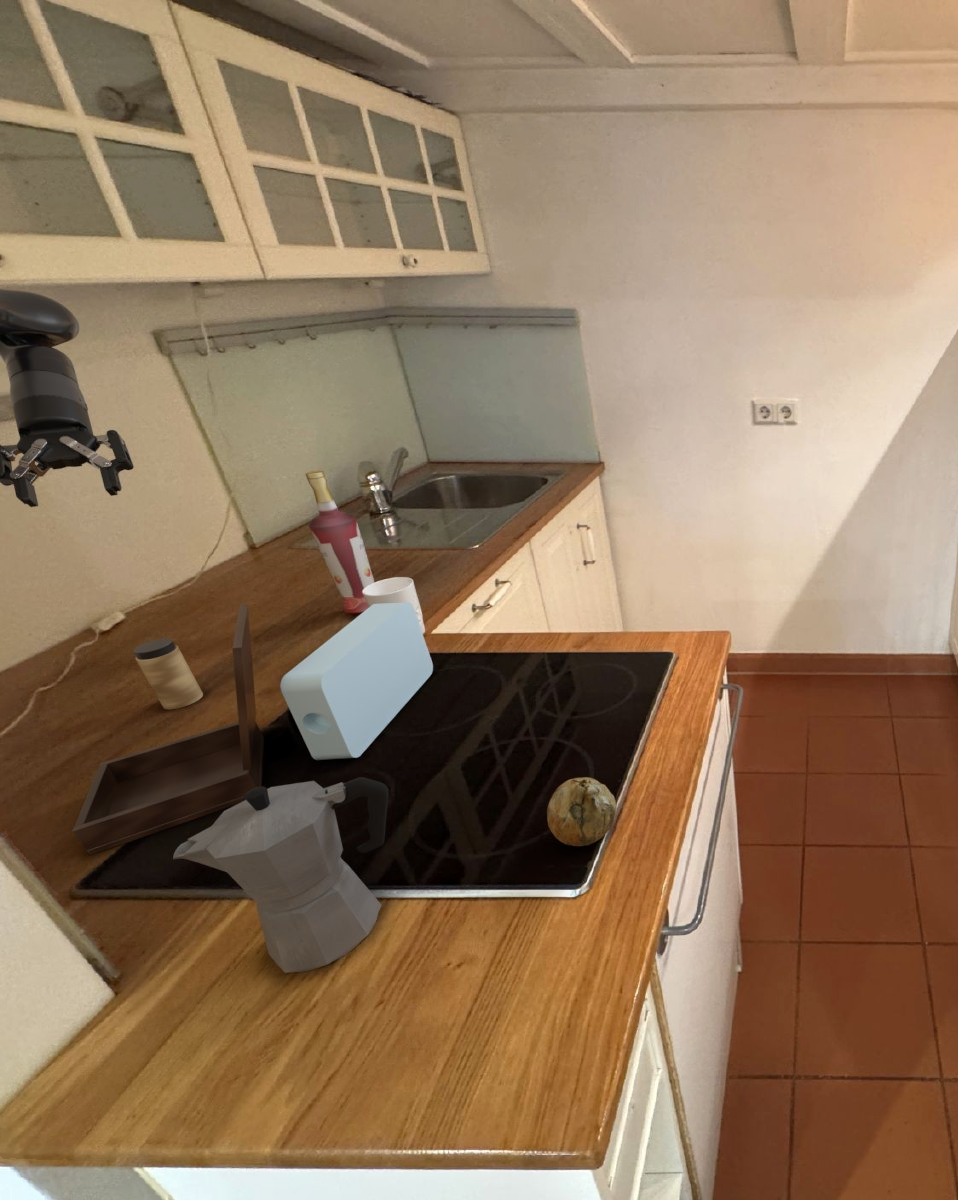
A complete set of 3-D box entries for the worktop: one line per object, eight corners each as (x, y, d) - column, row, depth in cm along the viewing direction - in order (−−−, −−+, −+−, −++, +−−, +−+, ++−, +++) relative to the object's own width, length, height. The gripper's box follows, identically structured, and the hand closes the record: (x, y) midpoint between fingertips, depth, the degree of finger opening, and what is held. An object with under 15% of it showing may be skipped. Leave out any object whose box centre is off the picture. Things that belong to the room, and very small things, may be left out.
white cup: (437, 631, 121) (421, 582, 117) (393, 650, 115) (375, 599, 111) (415, 621, 125) (399, 573, 121) (372, 638, 119) (353, 589, 115)
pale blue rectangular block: (399, 672, 108) (372, 600, 102) (434, 670, 108) (410, 598, 103) (309, 765, 87) (269, 682, 81) (354, 762, 88) (317, 679, 82)
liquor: (389, 611, 129) (340, 472, 117) (346, 622, 125) (290, 480, 113) (384, 599, 135) (336, 465, 122) (342, 610, 130) (288, 472, 118)
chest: (89, 856, 74) (71, 831, 72) (115, 785, 85) (100, 762, 83) (261, 796, 82) (248, 772, 81) (264, 739, 93) (253, 717, 91)
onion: (626, 802, 79) (616, 750, 76) (618, 853, 72) (605, 798, 69) (562, 810, 78) (548, 757, 75) (547, 863, 71) (531, 807, 68)
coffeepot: (239, 1008, 58) (140, 861, 50) (248, 931, 65) (163, 791, 57) (433, 919, 65) (375, 779, 57) (423, 858, 72) (369, 726, 64)
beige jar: (160, 713, 100) (128, 657, 95) (165, 699, 103) (134, 644, 99) (201, 702, 102) (172, 646, 98) (204, 688, 106) (176, 634, 101)
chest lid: (232, 648, 75) (241, 647, 76) (239, 604, 86) (247, 604, 87) (242, 770, 80) (251, 769, 81) (248, 715, 91) (256, 714, 91)
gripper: (-35, 399, 93) (-15, 494, 90) (102, 388, 101) (125, 475, 97) (-1, 431, 99) (18, 521, 96) (126, 418, 107) (148, 501, 104)
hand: (72, 498), depth 97 cm, fingers open, 8 cm apart
